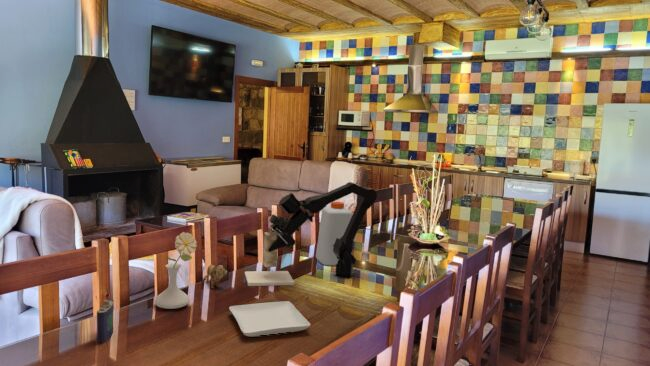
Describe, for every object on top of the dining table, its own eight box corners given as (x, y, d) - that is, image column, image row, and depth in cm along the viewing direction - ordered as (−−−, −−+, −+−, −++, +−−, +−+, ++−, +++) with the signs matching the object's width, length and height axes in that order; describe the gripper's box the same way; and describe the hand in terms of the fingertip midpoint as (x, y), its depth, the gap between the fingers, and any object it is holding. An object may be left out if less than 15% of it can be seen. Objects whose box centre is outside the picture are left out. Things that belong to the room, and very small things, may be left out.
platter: (287, 273, 203) (287, 270, 203) (294, 284, 190) (294, 282, 190) (244, 274, 199) (244, 271, 199) (248, 285, 185) (248, 282, 185)
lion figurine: (228, 289, 181) (229, 265, 180) (214, 291, 177) (215, 267, 176) (211, 277, 192) (212, 255, 191) (198, 279, 189) (199, 257, 188)
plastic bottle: (342, 256, 236) (347, 200, 232) (354, 265, 221) (359, 205, 218) (313, 257, 231) (317, 199, 227) (323, 266, 217) (327, 205, 213)
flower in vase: (156, 314, 154) (158, 237, 151) (151, 301, 164) (153, 229, 161) (198, 309, 160) (200, 235, 157) (190, 297, 170) (193, 227, 167)
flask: (105, 329, 141) (106, 294, 140) (116, 329, 141) (116, 294, 140) (95, 344, 132) (95, 306, 130) (106, 344, 132) (107, 306, 131)
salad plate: (227, 315, 158) (228, 305, 158) (289, 309, 166) (289, 299, 166) (242, 343, 139) (243, 332, 138) (311, 335, 147) (312, 324, 147)
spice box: (273, 263, 197) (275, 232, 195) (276, 266, 192) (278, 234, 191) (262, 263, 195) (264, 232, 193) (265, 267, 191) (267, 235, 189)
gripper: (276, 203, 201) (248, 230, 198) (289, 212, 183) (259, 241, 181) (293, 222, 205) (266, 248, 202) (307, 232, 187) (278, 261, 185)
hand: (267, 249), depth 192 cm, fingers closed on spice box, 5 cm apart
